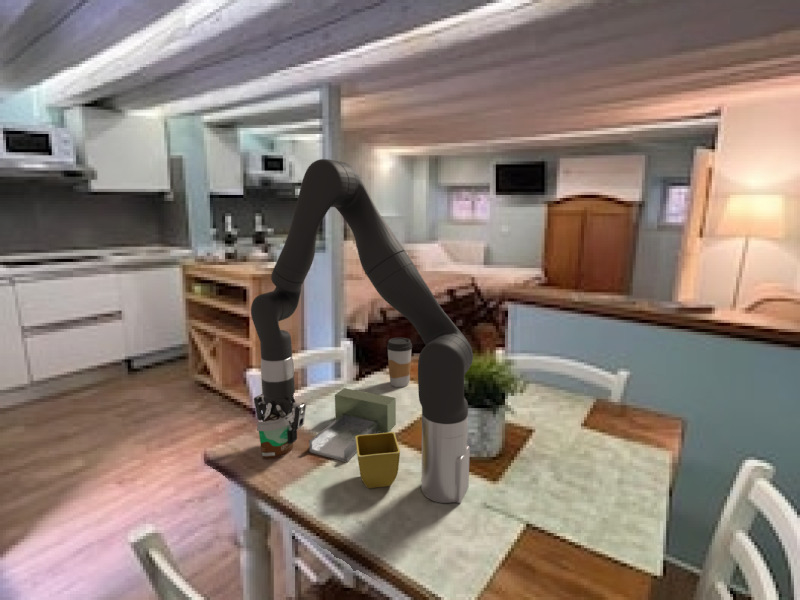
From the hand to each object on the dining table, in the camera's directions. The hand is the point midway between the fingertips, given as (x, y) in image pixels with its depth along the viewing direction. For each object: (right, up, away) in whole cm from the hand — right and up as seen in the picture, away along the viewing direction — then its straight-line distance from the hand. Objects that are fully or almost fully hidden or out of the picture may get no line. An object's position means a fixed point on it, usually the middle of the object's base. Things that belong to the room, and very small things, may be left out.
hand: (281, 439), depth 109 cm
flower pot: (+24, -5, -12) cm, 28 cm away
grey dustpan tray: (+16, -1, +6) cm, 17 cm away
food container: (+1, -3, 0) cm, 3 cm away
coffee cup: (+29, +6, +40) cm, 50 cm away
